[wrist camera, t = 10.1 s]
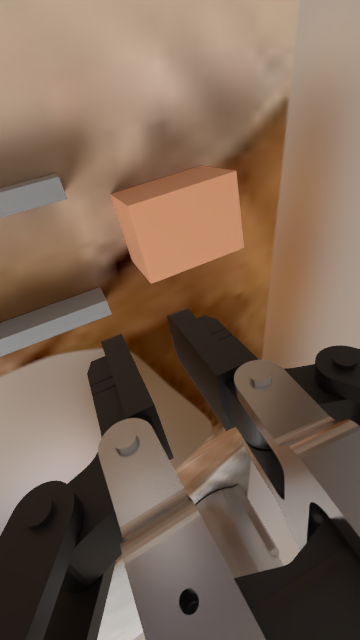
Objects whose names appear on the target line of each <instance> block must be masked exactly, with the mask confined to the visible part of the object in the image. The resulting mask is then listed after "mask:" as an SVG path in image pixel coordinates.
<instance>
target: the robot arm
mask: <svg viewBox="0 0 360 640" xmlns="http://www.w3.org/2000/svg"><path fill="white" fill-rule="evenodd" d="M167 320H168V324H169V328H170V332H171V336H172V339H173V343H174V347H175V350H176V353H177V356H178V358H179V360H180V362H181V364H182V366H183V367H184V369H185V370H186V371H187V373H188V374H189V376H190V377H191V379H192V380H193V382H194V383H195V385H196V386H197V388H198V389H199V391H200V392H201V394H202V395H203V397H204V398H205V400H206V401H207V403H208V404H209V406H210V407H211V409H212V410H213V412H214V413H215V415H216V416H217V418H218V419H219V421H220V422H221V424H222V425H223V427H224V428H225V430H226V431H227V430H229V429H231V428H233V427H235V426H236V428H237V429H238V431H239V432H240V433H241V435H242V442H243V446H244V448H245V449H246V451H247V453H248V454H249V456H250V458H251V459H252V461H253V463H254V464H255V466H256V468H257V469H258V471H259V473H260V474H261V476H262V478H263V479H264V481H265V483H266V484H267V486H268V488H269V489H270V491H271V493H272V494H273V496H274V497H275V499H276V501H277V502H278V504H279V506H280V508H281V510H282V513H283V515H284V518H285V521H286V524H287V527H288V529H289V531H290V533H291V535H292V537H293V539H294V541H295V543H296V544H297V546H298V548H299V549H300V552H299V553H298V555H297V556H296V557H295V558H294V560H293V561H292V562H291V563H290V564H288V565H285V566H284V565H283V563H282V562H281V560H280V558H279V550H278V548H277V547H276V545H275V543H274V541H273V540H272V538H271V536H270V535H269V533H268V531H267V530H266V528H265V526H264V525H263V523H262V522H261V520H260V518H259V517H258V515H257V513H256V511H255V510H254V508H253V507H252V505H251V503H250V501H249V500H248V498H247V497H246V495H245V493H244V492H243V490H242V488H241V487H240V485H237V486H235V487H233V488H225V489H222V490H219V491H216V492H214V493H212V494H210V495H209V496H207V497H206V498H204V499H203V500H202V501H200V502H199V503H198V504H197V505H196V506H195V504H194V503H193V501H192V499H191V498H189V496H188V495H187V493H186V491H185V489H184V488H183V486H182V484H181V482H180V480H179V478H178V476H177V474H176V472H175V470H174V468H173V466H172V464H171V462H170V461H169V460H170V459H172V458H173V455H172V452H171V449H170V447H169V444H168V441H167V438H166V436H165V433H164V430H163V427H162V425H161V422H160V419H159V416H158V414H157V411H156V408H155V406H154V403H153V401H152V399H151V397H150V395H149V392H148V390H147V388H146V386H145V384H144V382H143V379H142V377H141V375H140V373H139V371H138V369H137V366H136V364H135V362H134V360H133V358H132V356H131V354H130V351H129V349H128V347H127V345H126V343H125V341H124V338H123V336H122V334H119V335H117V336H114V337H112V338H109V339H107V340H104V341H102V342H101V344H102V347H103V349H104V352H105V355H106V356H105V357H102V358H99V359H97V360H95V361H92V362H91V364H90V367H89V370H88V373H87V375H88V379H89V384H90V387H91V392H92V396H93V400H94V405H95V409H96V413H97V418H98V422H99V426H100V430H101V436H102V439H101V441H100V443H99V448H98V453H97V455H96V457H95V458H94V459H93V461H92V462H91V463H90V465H89V466H87V468H85V469H84V470H83V471H82V472H81V473H80V474H78V475H77V476H76V477H75V478H74V479H73V480H71V481H70V482H69V483H68V484H66V483H63V482H61V481H50V482H46V483H43V484H41V485H39V486H38V487H36V488H34V489H33V490H31V491H30V492H29V493H28V494H26V495H25V497H23V499H22V500H21V501H20V502H19V503H18V505H17V506H16V508H15V509H14V511H13V513H12V515H11V517H10V518H9V520H8V522H7V525H6V526H5V528H4V530H3V532H2V534H1V536H0V640H97V637H98V632H99V628H100V624H101V620H102V616H103V612H104V607H105V603H106V599H107V595H108V591H109V587H110V583H111V578H112V574H113V570H114V566H115V560H116V559H117V558H118V557H119V556H120V555H121V554H122V556H123V561H124V564H125V568H126V571H127V575H128V579H129V582H130V586H131V589H132V593H133V596H134V600H135V603H136V607H137V610H138V614H139V618H140V621H141V625H142V628H143V632H144V635H145V639H146V640H360V349H357V348H353V347H348V346H331V347H328V348H325V349H323V350H321V351H320V352H319V353H318V354H317V356H316V360H315V364H313V365H308V366H302V367H297V368H289V369H283V368H282V367H281V366H280V365H278V364H276V363H274V362H271V361H267V360H259V359H258V358H256V357H255V356H254V355H253V354H252V353H251V352H250V351H249V350H248V349H247V348H246V347H245V346H244V345H243V344H242V343H241V342H240V341H239V340H238V339H237V338H236V337H235V336H233V335H232V333H231V332H229V331H228V330H227V329H226V328H225V327H224V326H223V325H222V324H221V323H220V322H219V321H218V320H217V319H214V318H211V317H209V316H206V315H204V316H202V317H199V318H196V317H195V316H194V315H193V314H192V313H191V311H190V310H189V309H188V308H185V309H182V310H180V311H177V312H174V313H172V314H169V315H167Z"/></svg>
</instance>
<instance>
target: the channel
mask: <svg viewBox="0 0 360 640" xmlns="http://www.w3.org/2000/svg"><path fill="white" fill-rule="evenodd" d="M65 199H67V197H66V194H65V192H64V189H63V186H62V184H61V181H60V179H59V176H58V175H57V174H56V173H54V174H51V175H47V176H43V177H39V178H36V179H32V180H28V181H24V182H21V183H17V184H13V185H9V186H6V187H2V188H0V218H2V217H5V216H9V215H12V214H16V213H19V212H23V211H26V210H30V209H33V208H37V207H40V206H44V205H47V204H51V203H54V202H58V201H61V200H65ZM108 315H111V311H110V308H109V306H108V303H107V301H106V298H105V296H104V294H103V292H102V290H101V288H100V287H99V288H96V289H93V290H90V291H88V292H85V293H82V294H79V295H76V296H74V297H71V298H68V299H65V300H62V301H60V302H57V303H54V304H51V305H48V306H46V307H43V308H40V309H37V310H34V311H32V312H29V313H26V314H23V315H21V316H18V317H15V318H12V319H9V320H7V321H4V322H1V323H0V357H1V356H3V355H6V354H9V353H11V352H14V351H16V350H19V349H22V348H24V347H27V346H30V345H32V344H35V343H37V342H40V341H43V340H45V339H48V338H51V337H53V336H56V335H58V334H61V333H64V332H66V331H69V330H72V329H74V328H77V327H79V326H82V325H85V324H87V323H90V322H93V321H95V320H98V319H100V318H103V317H106V316H108Z"/></svg>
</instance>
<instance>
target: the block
mask: <svg viewBox="0 0 360 640" xmlns="http://www.w3.org/2000/svg"><path fill="white" fill-rule="evenodd" d="M110 195H111V198H112V201H113V204H114V207H115V210H116V213H117V216H118V220H119V223H120V226H121V229H122V232H123V235H124V238H125V241H126V244H127V247H128V250H129V253H130V256H131V259H132V261H133V263H134V264H135V265H136V266H137V267H138V269H139V270H140V271H141V272H142V273H143V275H144V276H145V277H146V278H147V279H148V281H149V282H150V283H151V284H152V283H155V282H157V281H160V280H163V279H165V278H168V277H170V276H173V275H175V274H178V273H181V272H183V271H186V270H188V269H191V268H193V267H196V266H199V265H201V264H204V263H206V262H209V261H212V260H214V259H217V258H219V257H222V256H224V255H227V254H230V253H232V252H235V251H237V250H240V249H242V248H244V243H243V233H242V223H241V213H240V203H239V193H238V183H237V173H236V171H234V170H228V169H221V168H214V167H207V166H198V167H195V168H192V169H189V170H185V171H182V172H179V173H176V174H173V175H169V176H166V177H163V178H160V179H157V180H154V181H150V182H147V183H144V184H141V185H138V186H134V187H131V188H128V189H125V190H122V191H118V192H115V193H112V194H110Z"/></svg>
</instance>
